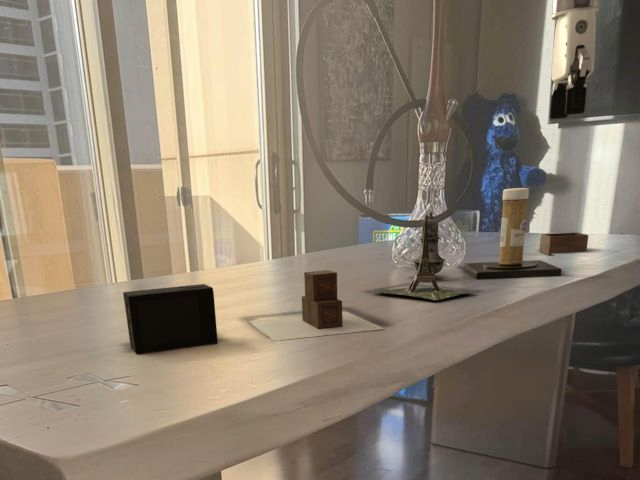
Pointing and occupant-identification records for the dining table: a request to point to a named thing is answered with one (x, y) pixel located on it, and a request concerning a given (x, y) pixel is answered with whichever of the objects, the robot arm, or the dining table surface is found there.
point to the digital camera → (171, 318)
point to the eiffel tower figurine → (424, 278)
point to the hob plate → (511, 270)
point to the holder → (563, 243)
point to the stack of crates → (316, 313)
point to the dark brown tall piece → (431, 248)
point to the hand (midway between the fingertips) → (566, 116)
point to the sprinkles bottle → (513, 226)
